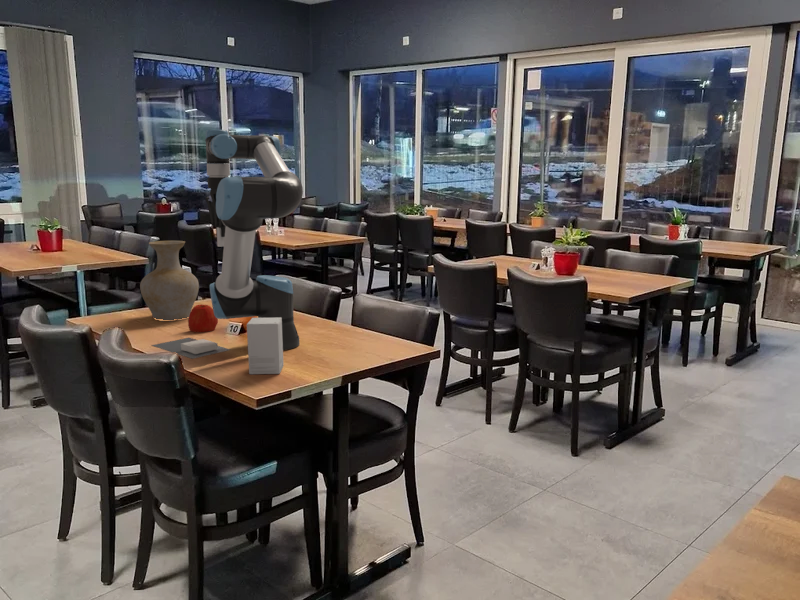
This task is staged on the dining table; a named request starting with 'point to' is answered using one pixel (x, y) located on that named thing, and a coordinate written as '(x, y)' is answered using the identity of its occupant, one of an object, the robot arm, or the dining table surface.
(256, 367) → the supplement box
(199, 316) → the apple
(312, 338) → the dining table surface
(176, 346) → the slate board
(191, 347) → the tile
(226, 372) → the dining table surface
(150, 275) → the vase
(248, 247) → the robot arm
